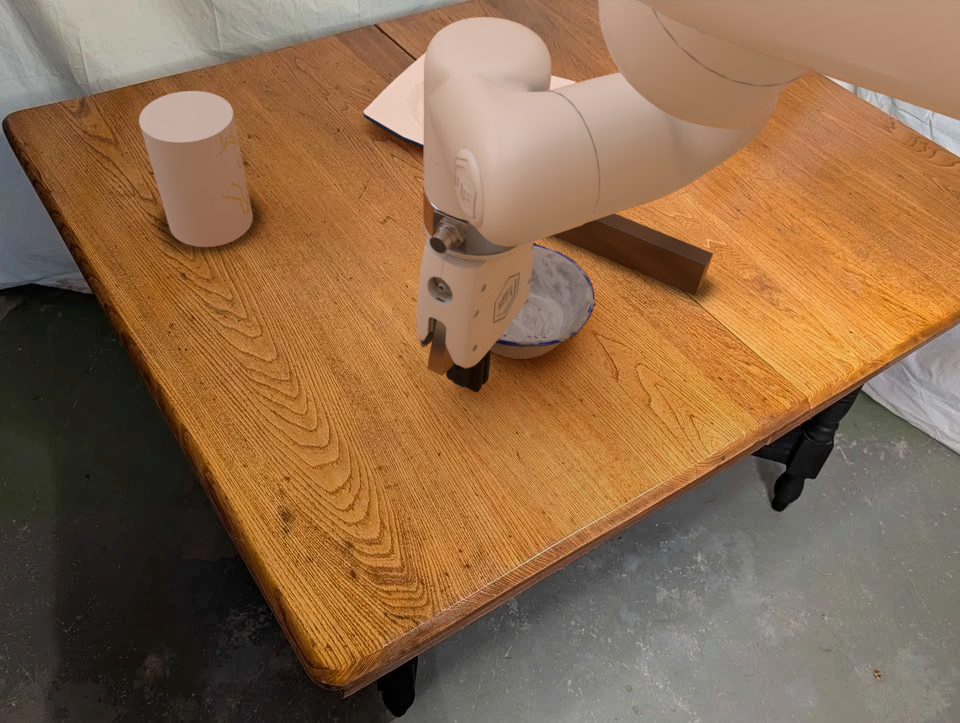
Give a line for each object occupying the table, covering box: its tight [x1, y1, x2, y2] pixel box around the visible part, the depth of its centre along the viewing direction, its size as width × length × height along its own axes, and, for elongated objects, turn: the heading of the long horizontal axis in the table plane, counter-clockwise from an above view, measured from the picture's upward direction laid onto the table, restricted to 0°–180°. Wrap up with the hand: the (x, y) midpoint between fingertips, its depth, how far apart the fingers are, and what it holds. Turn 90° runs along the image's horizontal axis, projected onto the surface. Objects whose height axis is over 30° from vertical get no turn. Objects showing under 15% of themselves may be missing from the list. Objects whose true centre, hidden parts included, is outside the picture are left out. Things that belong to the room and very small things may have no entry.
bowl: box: [490, 242, 597, 360], centre depth 76 cm, size 13×13×5 cm
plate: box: [362, 52, 577, 150], centre depth 99 cm, size 20×20×3 cm
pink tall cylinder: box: [138, 90, 254, 248], centre depth 81 cm, size 8×8×12 cm
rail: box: [553, 213, 714, 296], centre depth 84 cm, size 24×2×4 cm, turn 59°
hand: (467, 379), depth 72 cm, fingers closed
